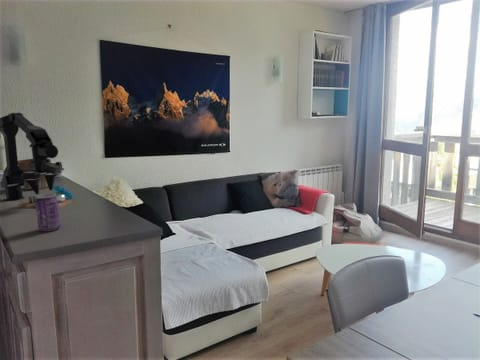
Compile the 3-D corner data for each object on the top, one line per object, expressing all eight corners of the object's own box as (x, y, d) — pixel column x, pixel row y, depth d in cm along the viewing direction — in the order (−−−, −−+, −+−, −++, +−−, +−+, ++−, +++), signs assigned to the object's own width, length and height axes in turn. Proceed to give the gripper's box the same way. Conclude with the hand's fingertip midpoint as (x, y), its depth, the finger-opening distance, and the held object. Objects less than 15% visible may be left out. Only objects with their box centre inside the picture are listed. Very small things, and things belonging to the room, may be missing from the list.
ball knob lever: (29, 202, 178) (29, 196, 178) (36, 200, 182) (35, 194, 182) (61, 202, 175) (60, 196, 175) (67, 200, 180) (66, 194, 179)
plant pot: (58, 186, 227) (55, 158, 224) (30, 192, 214) (27, 162, 211) (41, 184, 236) (38, 157, 233) (14, 189, 222) (10, 161, 219)
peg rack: (18, 207, 176) (16, 197, 176) (33, 202, 186) (32, 193, 185) (58, 207, 173) (57, 197, 172) (72, 202, 182) (71, 192, 182)
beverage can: (43, 227, 143) (39, 194, 141) (64, 226, 143) (60, 193, 141) (35, 233, 136) (30, 198, 134) (56, 231, 136) (52, 197, 134)
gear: (77, 195, 189) (60, 183, 183) (70, 206, 186) (53, 194, 181) (67, 196, 197) (50, 184, 191) (60, 206, 194) (42, 194, 188)
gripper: (42, 159, 165) (46, 196, 168) (69, 154, 183) (72, 187, 186) (18, 160, 167) (23, 196, 170) (47, 155, 185) (51, 188, 188)
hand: (44, 192), depth 178 cm, fingers open, 9 cm apart
